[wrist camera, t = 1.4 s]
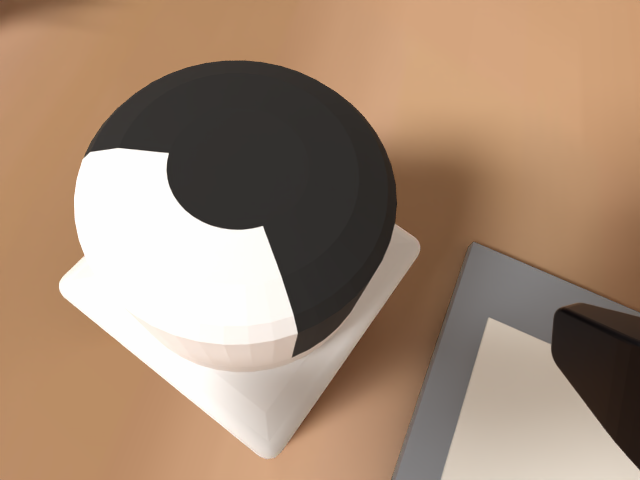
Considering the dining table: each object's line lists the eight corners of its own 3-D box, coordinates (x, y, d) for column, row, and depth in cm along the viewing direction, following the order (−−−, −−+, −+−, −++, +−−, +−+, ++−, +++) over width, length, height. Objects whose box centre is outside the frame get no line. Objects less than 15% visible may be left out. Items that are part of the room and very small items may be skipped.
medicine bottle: (242, 210, 22) (217, -38, 11) (377, 307, 20) (504, 143, 10) (123, 340, 19) (-76, 191, 8) (270, 460, 18) (273, 478, 7)
